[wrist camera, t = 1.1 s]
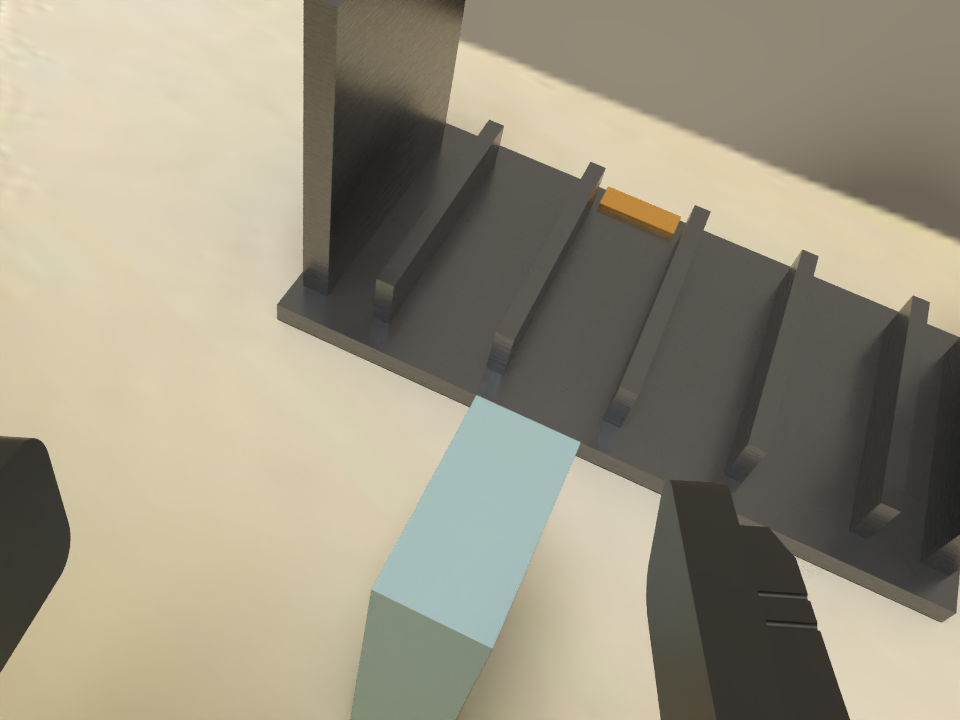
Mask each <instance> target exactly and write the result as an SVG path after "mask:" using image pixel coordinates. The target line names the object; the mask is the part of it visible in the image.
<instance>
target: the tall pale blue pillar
mask: <svg viewBox="0 0 960 720" xmlns="http://www.w3.org/2000/svg"><path fill="white" fill-rule="evenodd" d="M580 443H581V442H579V441H577V440H575V439H572V438H570V437H568V436H566V435H563V434H561V433H559V432H557V431H555V430H552V429H550V428H548V427H546V426H544V425H541V424H539V423H537V422H535V421H533V420H530V419H528V418H526V417H524V416H522V415H519V414H517V413H515V412H513V411H511V410H508V409H506V408H504V407H502V406H499V405H497V404H495V403H493V402H491V401H488V400H486V399H484V398H482V397H480V396H477V395H476V397H475V399H474V401H473V403H472V404H471V406H470V408H469V410H468V412H467V414H466V415H465V417H464V419H463V421H462V423H461V425H460V427H459V428H458V430H457V432H456V434H455V436H454V438H453V440H452V441H451V443H450V445H449V447H448V449H447V451H446V452H445V454H444V456H443V458H442V460H441V462H440V464H439V465H438V467H437V469H436V471H435V473H434V475H433V476H432V478H431V480H430V482H429V484H428V486H427V488H426V489H425V491H424V493H423V495H422V497H421V499H420V501H419V502H418V504H417V506H416V508H415V510H414V512H413V513H412V515H411V517H410V519H409V521H408V523H407V525H406V526H405V528H404V530H403V532H402V534H401V536H400V537H399V539H398V541H397V543H396V545H395V547H394V549H393V550H392V552H391V554H390V556H389V558H388V560H387V562H386V563H385V565H384V567H383V569H382V571H381V573H380V574H379V576H378V578H377V580H376V582H375V584H374V586H373V587H372V589H371V595H370V601H369V607H368V613H367V620H366V626H365V632H364V638H363V644H362V651H361V657H360V663H359V669H358V675H357V682H356V688H355V694H354V700H353V706H352V713H351V719H350V720H455V719H456V717H457V715H458V714H459V712H460V710H461V708H462V706H463V704H464V702H465V700H466V698H467V696H468V695H469V693H470V691H471V689H472V687H473V685H474V683H475V681H476V679H477V677H478V676H479V674H480V672H481V670H482V668H483V666H484V664H485V662H486V660H487V659H488V657H489V655H490V653H491V651H492V649H493V647H494V644H495V642H496V640H497V637H498V635H499V633H500V630H501V628H502V626H503V623H504V621H505V619H506V616H507V614H508V612H509V609H510V607H511V605H512V602H513V600H514V598H515V595H516V593H517V591H518V588H519V586H520V583H521V581H522V579H523V576H524V574H525V572H526V569H527V567H528V565H529V562H530V560H531V558H532V555H533V553H534V551H535V548H536V546H537V544H538V541H539V539H540V537H541V534H542V532H543V530H544V527H545V525H546V523H547V520H548V518H549V516H550V513H551V511H552V509H553V506H554V504H555V501H556V499H557V497H558V494H559V492H560V490H561V487H562V485H563V483H564V480H565V478H566V476H567V473H568V471H569V469H570V466H571V464H572V462H573V459H574V457H575V455H576V452H577V450H578V448H579V445H580Z"/></svg>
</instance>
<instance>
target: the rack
mask: <svg viewBox="0 0 960 720" xmlns="http://www.w3.org/2000/svg"><path fill="white" fill-rule="evenodd" d="M464 6H465V0H304V111H303V272H302V274H301V275H300V276H299V278H298V279H297V280H296V281H295V283H294V284H293V285H292V286H291V288H290V289H289V290H288V291H287V293H286V294H285V295H284V297H283V298H282V299H281V300H280V302H279V303H278V304H277V318H278V320H281V321H283V322H285V323H287V324H289V325H291V326H294V327H296V328H298V329H300V330H302V331H305V332H307V333H309V334H311V335H313V336H316V337H318V338H320V339H322V340H324V341H327V342H329V343H331V344H333V345H335V346H337V347H340V348H342V349H344V350H346V351H348V352H351V353H353V354H355V355H357V356H359V357H362V358H364V359H366V360H368V361H370V362H372V363H375V364H377V365H379V366H381V367H383V368H386V369H388V370H390V371H392V372H394V373H397V374H399V375H401V376H403V377H405V378H408V379H410V380H412V381H414V382H416V383H418V384H421V385H423V386H425V387H427V388H429V389H432V390H434V391H436V392H438V393H440V394H443V395H445V396H447V397H449V398H451V399H454V400H456V401H458V402H460V403H462V404H464V405H467V406H469V407H470V406H471V404H472V403H473V401H474V399H475V397H476V395H477V396H480V397H482V398H484V399H486V400H488V401H491V402H493V403H495V404H497V405H499V406H502V407H504V408H506V409H508V410H511V411H513V412H515V413H517V414H519V415H522V416H524V417H526V418H528V419H530V420H533V421H535V422H537V423H539V424H541V425H544V426H546V427H548V428H550V429H552V430H555V431H557V432H559V433H561V434H563V435H566V436H568V437H570V438H572V439H575V440H577V441H579V442H581V443H580V445H579V448H578V450H577V452H576V456H578V457H581V458H583V459H585V460H587V461H589V462H591V463H594V464H596V465H598V466H600V467H602V468H605V469H607V470H609V471H611V472H613V473H616V474H618V475H620V476H622V477H624V478H627V479H629V480H631V481H633V482H635V483H637V484H640V485H642V486H644V487H646V488H648V489H651V490H653V491H655V492H657V493H659V494H662V490H663V486H664V483H665V481H666V480H668V479H669V480H685V481H701V482H717V483H726V484H727V485H728V487H729V489H730V492H731V496H732V499H733V503H734V507H735V510H736V514H737V518H738V521H739V525H744V526H760V527H769V528H770V529H771V530H772V532H773V533H774V534H775V535H776V536H777V537H778V539H779V540H780V541H781V542H782V543H783V544H784V545H785V547H786V548H787V549H788V550H789V551H790V552H791V554H793V555H795V556H797V557H800V558H802V559H804V560H806V561H808V562H810V563H813V564H815V565H817V566H819V567H821V568H824V569H826V570H828V571H830V572H832V573H835V574H837V575H839V576H841V577H843V578H846V579H848V580H850V581H852V582H854V583H856V584H859V585H861V586H863V587H865V588H867V589H870V590H872V591H874V592H876V593H878V594H881V595H883V596H885V597H887V598H889V599H892V600H894V601H896V602H898V603H900V604H902V605H905V606H907V607H909V608H911V609H913V610H916V611H918V612H920V613H922V614H924V615H927V616H929V617H931V618H933V619H935V620H937V621H940V622H943V621H944V620H946V619H948V618H949V617H951V616H953V615H954V614H956V609H957V597H958V585H959V573H960V337H957V336H955V335H953V334H950V333H948V332H945V331H943V330H941V329H938V328H936V327H933V326H931V325H929V324H927V319H928V311H929V304H930V302H928V301H925V300H923V299H920V298H918V297H916V296H912V297H911V298H910V300H909V301H908V302H907V303H906V304H905V305H904V307H903V308H902V309H901V310H900V311H899V312H897V311H895V310H893V309H890V308H888V307H885V306H883V305H881V304H878V303H876V302H874V301H871V300H869V299H866V298H864V297H862V296H859V295H857V294H854V293H852V292H850V291H847V290H845V289H842V288H840V287H838V286H835V285H833V284H830V283H828V282H826V281H823V280H821V279H818V278H816V277H814V272H815V268H816V264H817V260H818V256H817V255H814V254H812V253H809V252H807V251H805V250H802V251H801V252H800V254H799V255H798V257H797V258H796V260H795V261H794V263H793V264H792V266H791V267H790V266H787V265H785V264H782V263H780V262H778V261H775V260H773V259H770V258H768V257H766V256H763V255H761V254H759V253H756V252H754V251H751V250H749V249H747V248H744V247H742V246H739V245H737V244H735V243H732V242H730V241H727V240H725V239H723V238H720V237H718V236H715V235H713V234H711V233H708V232H706V231H703V230H704V227H705V225H706V222H707V219H708V217H709V214H710V212H711V211H708V210H706V209H703V208H701V207H698V206H696V205H695V206H694V208H693V210H692V212H691V214H690V216H689V218H688V220H687V222H686V223H684V222H682V221H680V218H681V217H680V216H678V215H675V214H673V213H671V212H668V211H666V210H663V209H661V208H659V207H656V206H654V205H651V204H649V203H647V202H644V201H642V200H639V199H637V198H635V197H632V196H630V195H627V194H625V193H623V192H620V191H618V190H615V189H613V188H611V187H608V188H607V190H605V189H603V188H600V187H599V186H600V183H601V180H602V177H603V175H604V172H605V169H606V168H604V167H602V166H600V165H597V164H595V163H592V162H590V164H589V165H588V167H587V169H586V171H585V173H584V174H583V176H582V178H581V179H579V178H576V177H574V176H572V175H569V174H567V173H564V172H562V171H560V170H557V169H555V168H552V167H550V166H548V165H545V164H543V163H541V162H538V161H536V160H533V159H531V158H529V157H526V156H524V155H521V154H519V153H517V152H514V151H512V150H509V149H507V148H505V147H502V146H500V141H501V137H502V133H503V128H504V126H503V125H501V124H498V123H496V122H493V121H491V120H489V121H488V122H487V124H486V125H485V126H484V128H483V129H482V131H481V132H480V133H479V135H478V136H476V135H473V134H471V133H469V132H466V131H464V130H461V129H459V128H457V127H454V126H452V125H449V124H447V123H446V117H447V111H448V104H449V98H450V92H451V86H452V80H453V74H454V67H455V61H456V55H457V49H458V43H459V37H460V31H461V24H462V18H463V12H464Z"/></svg>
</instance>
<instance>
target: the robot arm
mask: <svg viewBox="0 0 960 720" xmlns="http://www.w3.org/2000/svg"><path fill="white" fill-rule="evenodd" d="M69 549H70V527H69V523H68V519H67V516H66V513H65V509H64V506H63V502H62V499H61V495H60V492H59V489H58V485H57V482H56V478H55V475H54V471H53V468H52V464H51V461H50V458H49V454H48V451H47V449H46V447H45V445H44V444H43V443H42V442H41V441H40V440H38V439H35V438H21V437H5V436H0V672H1V671H2V669H3V668H4V666H5V664H6V663H7V661H8V659H9V658H10V656H11V655H12V653H13V651H14V650H15V648H16V647H17V645H18V643H19V642H20V640H21V639H22V637H23V635H24V634H25V632H26V630H27V629H28V627H29V626H30V624H31V622H32V621H33V619H34V618H35V616H36V614H37V613H38V611H39V610H40V608H41V606H42V605H43V603H44V601H45V600H46V598H47V597H48V595H49V593H50V592H51V590H52V589H53V587H54V585H55V584H56V582H57V581H58V579H59V577H60V576H61V574H62V572H63V570H64V567H65V565H66V562H67V558H68V554H69ZM807 594H808V593H807V590H806V587H805V584H804V581H803V579H802V576H801V573H800V570H799V567H798V564H797V561H796V558H795V557H794V556H793V555H792V554H791V552H790V551H789V550H788V549H787V548H786V547H785V545H784V544H783V543H782V542H781V541H780V540H779V539H778V537H777V536H776V535H775V534H774V533H773V532H772V530H771V529H770V528H769V527H760V526H744V525H739V521H738V518H737V514H736V510H735V507H734V503H733V499H732V496H731V492H730V489H729V487H728V485H727V484H726V483H717V482H701V481H685V480H669V479H668V480H666V481H665V483H664V486H663V490H662V495H661V500H660V506H659V511H658V516H657V522H656V527H655V533H654V538H653V543H652V549H651V554H650V560H649V565H648V573H647V590H646V601H647V616H648V624H649V632H650V640H651V647H652V655H653V663H654V670H655V678H656V686H657V693H658V701H659V709H660V717H661V720H850V718H849V716H848V713H847V710H846V707H845V704H844V701H843V698H842V695H841V692H840V689H839V686H838V683H837V680H836V677H835V674H834V671H833V668H832V665H831V662H830V659H829V656H828V653H827V650H826V647H825V644H824V641H823V638H822V635H821V632H820V631H818V630H817V620H816V617H815V614H814V611H813V608H812V605H811V602H810V601H808V600H807Z"/></svg>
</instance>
